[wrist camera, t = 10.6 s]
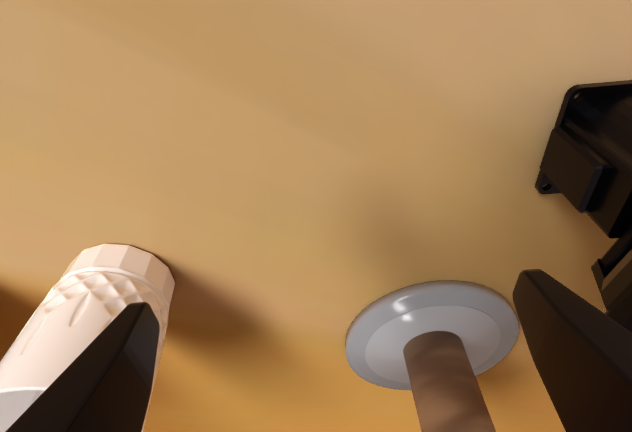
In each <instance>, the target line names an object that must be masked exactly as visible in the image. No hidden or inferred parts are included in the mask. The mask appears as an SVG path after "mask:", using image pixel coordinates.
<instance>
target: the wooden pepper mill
mask: <svg viewBox="0 0 632 432" xmlns="http://www.w3.org/2000/svg"><path fill="white" fill-rule="evenodd" d="M403 354H404V359H405V363H406V367H407V371H408V375H409V380H410V384H411V388H412V392H413V396H414V401H415V405H416V409H417V413H418V417H419V422H420V426H421V430H422V432H496V431H495V428H494V425H493V423H492V420H491V417H490V415H489V412H488V409H487V407H486V404H485V401H484V399H483V396H482V393H481V391H480V388H479V385H478V383H477V380H476V377H475V375H474V372H473V369H472V367H471V364H470V361H469V359H468V356H467V353H466V351H465V348H464V345H463V343H462V340H461V338H460V337H459V336H458V335H456V334H454V333H452V332H447V331H432V332H427V333H423V334H421V335H418V336H416V337H414V338H413V339H411V340H410V341H409V342H408V343H407V344H406V345H405V347H404V349H403Z"/></svg>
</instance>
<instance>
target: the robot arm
mask: <svg viewBox="0 0 632 432" xmlns="http://www.w3.org/2000/svg"><path fill="white" fill-rule="evenodd" d="M578 93H580V95H579V96H578V97H577V98H576V99H574V97H575V96H576V95H577V94H578ZM546 184H547V185H546ZM544 185H546V186H545V187H543V186H544ZM535 188H536V189H537V190H538V192H539V193H541V194H553V193H562V194H563V195H564V196H565V197H566V198H567V199H568V200H569V202H570V203H571V204H572V205H573V206H574V207H575V208H576V209H577V210H578V211H579V212H580V213H587V214H588V215H589V216H590V217H591V219H592V220H593V221H594V222H595V223H596V224H597V225H598V226H599V227H600V228H601V229H602V231H603V232H604V233H605V234H606V235H607V236H608V237H609V238H619V239H618V240H617V241H616V242H615V243H614V244H613V246H612V247H611V248H610V249H609V250H608V251H607V253H606V254H605V255H604V256H603V257H602V258H601V259H598V260H597V261H596V262H595V263H594V264H593V265H592V267H591V269H592V271H593V274H594V277H595V280H596V282H597V285H598V288H599V291H600V293H601V296H602V299H603V302H604V304H605V307H606V310H607V311H606V312H605V314H604V313H603V312H601V311H600V310H598V309H597V308H595V307H594V306H593V305H591V304H590V303H588V302H587V301H585V300H584V299H583V298H581V297H580V296H578V295H577V294H575V293H574V292H572V291H571V290H570V289H568V288H567V287H565V286H564V285H562V284H561V283H560V282H558V281H557V280H555V279H554V278H552V277H551V276H550V275H548V274H547V273H545V272H544V271H542V270H540V269H531V270H523V271H522V272H520V274H519V277H518V279H517V282H516V285H515V288H514V290H513V302H514V305H515V308H516V311H517V314H518V317H519V320H520V323H521V326H522V329H523V332H524V335H525V338H526V341H527V344H528V347H529V350H530V353H531V355H532V358H533V361H534V363H535V365H536V368H537V370H538V372H539V374H540V377H541V379H542V381H543V383H544V385H545V387H546V389H547V392H548V394H549V396H550V398H551V400H552V402H553V405H554V407H555V409H556V411H557V413H558V415H559V418H560V420H561V422H562V424H563V426H564V428H565V431H566V432H632V80H628V81H616V82H605V83H593V84H582V85H576V86H573V87H571V88H570V89H569V90H568V91H567V92H566V94H565V97H564V100H563V103H562V106H561V109H560V112H559V115H558V118H557V121H556V124H555V127H554V129H553V130H552V132H551V135H550V138H549V141H548V144H547V147H546V150H545V153H544V156H543V159H542V162H541V165H540V172H539V175H538V178H537V181H536V184H535ZM159 332H160V325H159V322H158V319H157V317H156V316H155V314H154V312H153V310H152V308H151V306H150V305H149V303H147V302H135V303H130V304H129V305H127V306H126V307H125V308H124V309H123V310H122V311H121V312H120V313H119V314H118V315H117V316H116V318H115V319H114V320H113V321H112V322H111V323H110V324H109V325H108V326H107V327H106V328H105V329H104V330H103V331H102V332H101V333H100V334H99V335H98V336H97V337H96V338H95V339H94V340H93V341H92V342H91V343H90V344H89V345H88V347H87V348H86V349H85V350H84V351H83V352H82V353H81V354H80V355H79V356H78V357H77V358H76V359H75V360H74V361H73V362H72V363H71V364H70V365H69V366H68V367H67V368H66V369H65V370H64V371H63V372H62V373H61V374H60V376H59V377H58V378H57V379H56V380H55V381H54V382H53V383H52V384H51V385H50V386H49V387H48V388H47V389H46V390H45V391H44V392H43V393H42V394H41V395H40V396H39V397H38V398H37V399H36V400H35V401H34V402H33V403H32V405H31V406H30V407H29V408H28V409H27V410H26V411H25V412H24V413H23V414H22V415H21V416H20V417H19V418H18V419H17V420H16V421H15V422H14V423H13V424H12V425H11V426H10V427H9V428H8V429H7V430H6V431H5V432H141V431H142V427H143V423H144V419H145V415H146V411H147V407H148V403H149V399H150V395H151V390H152V384H153V377H154V369H155V362H156V355H157V347H158V340H159Z"/></svg>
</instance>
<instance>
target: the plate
mask: <svg viewBox="0 0 632 432" xmlns="http://www.w3.org/2000/svg"><path fill="white" fill-rule="evenodd" d="M432 331H447V332H452V333H454V334H456V335H458V336H459V337H460V338H461V340H462V343H463V345H464V348H465V351H466V353H467V356H468V359H469V361H470V364H471V367H472V369H473V372H474V375H475V376H477V375H479V374H481V373H483V372H485V371H487V370H488V369H490V368H491V367H493V366H494V365H496V364H497V363H498V362H499V361H501V360H502V359H503V358H504V357H505V356H506V355H507V354H508V353H509V352H510V350H511V349H512V348H513V346H514V344H515V342H516V340H517V337H518V334H519V324H518V320H517V318H516V315H515V313H514V312H513V310H512V308H511V306H510V304H509V303H508V301H507V300H506V299H505V298H504V297H503V296H502V295H501V294H499V293H498V292H496V291H494V290H493V289H490V288H488V287H486V286H483V285H479V284H476V283H471V282H464V281H434V282H426V283H421V284H417V285H412V286H409V287H406V288H402V289H399V290H397V291H394V292H392V293H389V294H387V295H385V296H383V297H381V298H379V299H378V300H376V301H375V302H373V303H372V304H370V305H369V306H367V307H366V308H365V309H364V310H362V311H361V312H360V313H359V314H358V316H357V317H356V318H355V319H354V320H353V322H352V323H351V325H350V327H349V329H348V331H347V334H346V340H345V346H346V354H347V360H348V363H349V365H350V367H351V368H352V370H353V371H354V372H355V373H356V374H357V375H358V376H360V377H361V378H363V379H364V380H366V381H368V382H370V383H372V384H375V385H378V386H382V387H385V388H391V389H398V390H412V388H411V384H410V380H409V375H408V371H407V367H406V363H405V359H404V354H403V349H404V347H405V345H406V344H407V343H408V342H409V341H410V340H411V339H413V338H414V337H416V336H418V335H421V334H423V333H427V332H432Z"/></svg>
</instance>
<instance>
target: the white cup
mask: <svg viewBox="0 0 632 432" xmlns="http://www.w3.org/2000/svg"><path fill="white" fill-rule="evenodd" d="M174 286H175V281H174V279H173V277H172V274H171V272H170V270H169V268H168V267H167V266H166V265H165V264H164V263H163V262H161V261H160V260H159V259H158V258H156V257H155V256H154V255H153V254H151V253H148V252H146V251H143V250H141V249H138V248H135V247H133V246H130V245H119V244H101V245H98V246H94V247H91V248H87V249H84V250H83V251H82V252H81V253H80V254H79V255H78V256H77V257H76V258H75V259H74V260H73V261H72V262H71V264H70V265H69V267H68V268H67V270H66V271H65V273H64V274H63V276H62V277H61V279H60V280H59V282H58V283H57V284H55V285H54V286H53V287H52V289H51V290H50V291H49V293H48V294H47V296H46V297H45V299H44V300H43V302H42V303H41V304H40V305H39V307H38V308H37V309H36V311H35V312H34V313H33V315H32V316H31V317H30V319H29V320H28V322H27V323H26V325H25V326H24V328H23V329H22V331H21V332H20V333H19V335H18V336H17V338H16V339H15V341H14V342H13V344H12V345H11V347H10V348H9V350H8V351H7V353H6V354H5V355H4V357H3V358H2V360H1V361H0V432H5V431H6V430H7V429H8V428H9V427H10V426H11V425H12V424H13V423H14V422H15V421H16V420H17V419H18V418H19V417H20V416H21V415H22V414H23V413H24V412H25V411H26V410H27V409H28V408H29V407H30V406H31V405H32V403H33V402H34V401H35V400H36V399H37V398H38V397H39V396H40V395H41V394H42V393H43V392H44V391H45V390H46V389H47V388H48V387H49V386H50V385H51V384H52V383H53V382H54V381H55V380H56V379H57V378H58V377H59V376H60V374H61V373H62V372H63V371H64V370H65V369H66V368H67V367H68V366H69V365H70V364H71V363H72V362H73V361H74V360H75V359H76V358H77V357H78V356H79V355H80V354H81V353H82V352H83V351H84V350H85V349H86V348H87V347H88V345H89V344H90V343H91V342H92V341H93V340H94V339H95V338H96V337H97V336H98V335H99V334H100V333H101V332H102V331H103V330H104V329H105V328H106V327H107V326H108V325H109V324H110V323H111V322H112V321H113V320H114V319H115V318H116V316H117V315H118V314H119V313H120V312H121V311H122V310H123V309H124V308H125V307H126V306H127V305H129V304H130V303H135V302H147V303H149V305H150V306H151V308H152V310H153V312H154V314H155V316H156V317H157V319H158V322H159V325H160V332H159V340H158V347H157V355H156V362H155V369H154V377H153V384H152V390H151V395H150V399H149V403H148V407H147V411H146V415H145V419H144V423H143V427H142V431H141V432H144V428H145V424H146V420H147V415H148V411H149V406H150V402H151V398H152V394H153V389H154V385H155V381H156V376H157V372H158V367H159V363H160V359H161V354H162V350H163V346H164V342H165V336H166V329H167V325H168V314H169V307H170V303H171V298H172V295H173V291H174Z"/></svg>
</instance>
